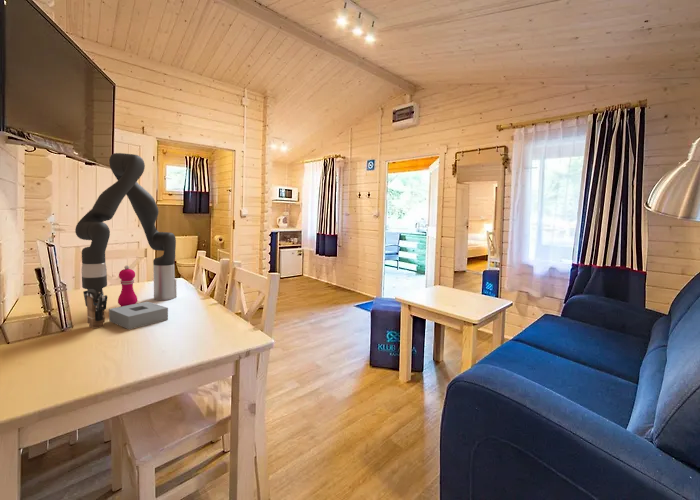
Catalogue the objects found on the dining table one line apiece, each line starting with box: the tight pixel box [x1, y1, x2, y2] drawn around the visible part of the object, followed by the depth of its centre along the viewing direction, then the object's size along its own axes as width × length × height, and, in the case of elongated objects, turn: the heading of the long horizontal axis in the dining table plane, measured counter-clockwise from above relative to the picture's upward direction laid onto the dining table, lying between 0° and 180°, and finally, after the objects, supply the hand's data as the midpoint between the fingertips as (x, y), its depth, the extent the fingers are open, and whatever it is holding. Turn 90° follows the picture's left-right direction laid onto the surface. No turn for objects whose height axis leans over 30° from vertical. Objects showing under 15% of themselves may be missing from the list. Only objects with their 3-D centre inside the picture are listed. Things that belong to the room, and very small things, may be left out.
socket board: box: [108, 301, 169, 330], centre depth 139 cm, size 15×15×5 cm
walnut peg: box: [86, 296, 106, 329], centre depth 130 cm, size 4×4×12 cm
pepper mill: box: [117, 265, 138, 307], centre depth 150 cm, size 7×7×20 cm
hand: (96, 319), depth 130 cm, fingers closed on walnut peg, 4 cm apart
